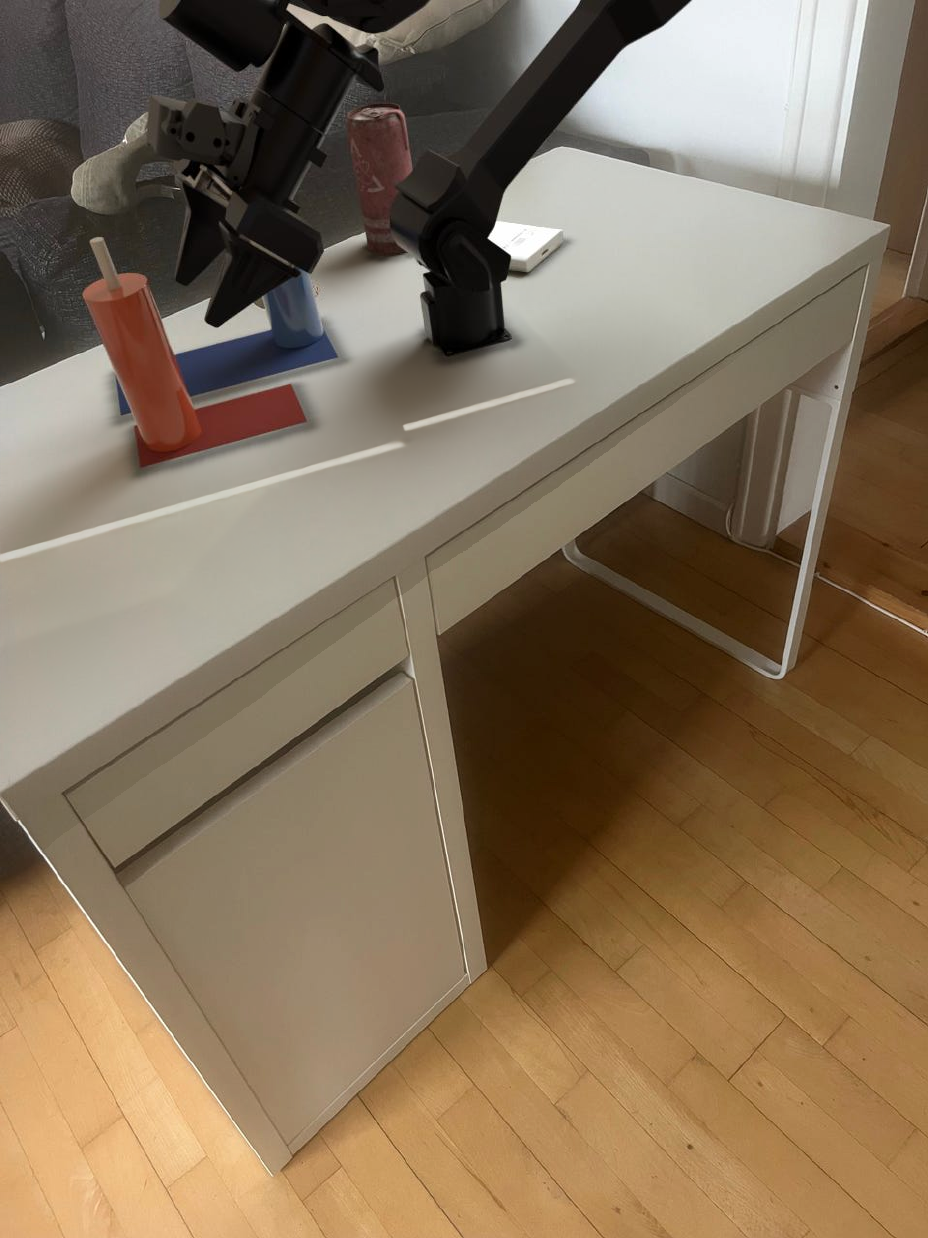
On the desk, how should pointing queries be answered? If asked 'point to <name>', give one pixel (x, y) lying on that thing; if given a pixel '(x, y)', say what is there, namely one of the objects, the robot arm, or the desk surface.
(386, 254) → the can
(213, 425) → the oxblood mat
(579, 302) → the desk surface
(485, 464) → the desk surface
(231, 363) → the navy mat
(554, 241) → the hard drive
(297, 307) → the slate blue jar
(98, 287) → the orange red candle
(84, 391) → the desk surface
